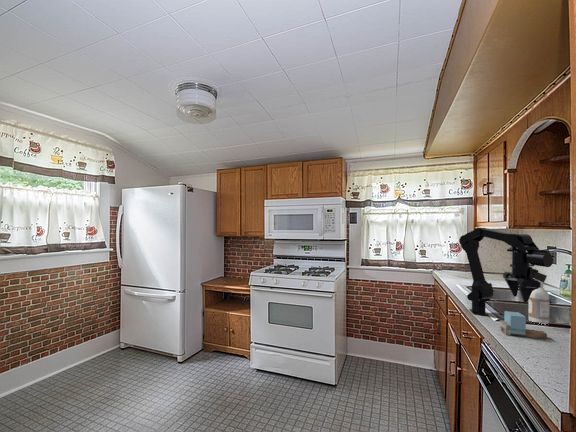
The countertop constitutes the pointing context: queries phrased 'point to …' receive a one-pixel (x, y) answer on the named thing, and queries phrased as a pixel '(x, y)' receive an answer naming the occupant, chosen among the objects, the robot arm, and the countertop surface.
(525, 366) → the countertop surface
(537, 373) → the countertop surface
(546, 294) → the bath foam
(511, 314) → the block
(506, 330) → the rail
